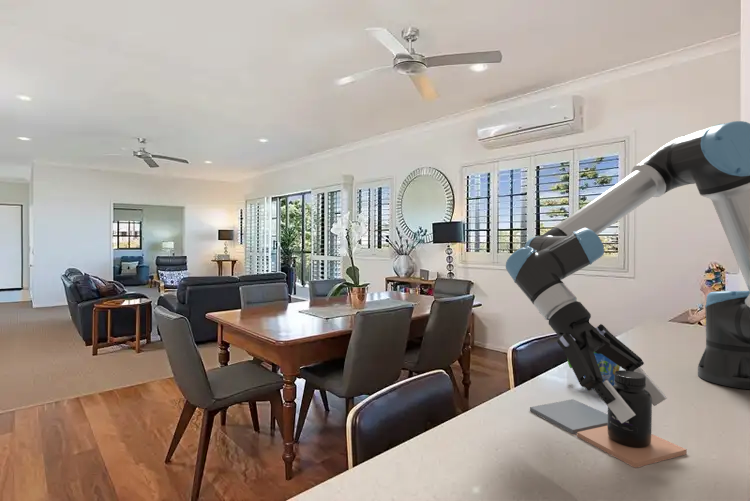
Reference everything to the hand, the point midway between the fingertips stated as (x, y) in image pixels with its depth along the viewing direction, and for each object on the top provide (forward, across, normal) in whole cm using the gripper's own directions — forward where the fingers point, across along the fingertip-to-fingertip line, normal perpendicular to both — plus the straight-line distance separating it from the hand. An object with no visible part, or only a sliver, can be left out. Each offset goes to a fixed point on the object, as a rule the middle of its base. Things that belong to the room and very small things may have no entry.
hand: (645, 410), depth 74 cm
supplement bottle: (+3, 0, -7) cm, 7 cm away
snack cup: (-11, -29, -21) cm, 38 cm away
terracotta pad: (+3, 0, -7) cm, 8 cm away
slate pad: (-6, -3, -16) cm, 17 cm away
